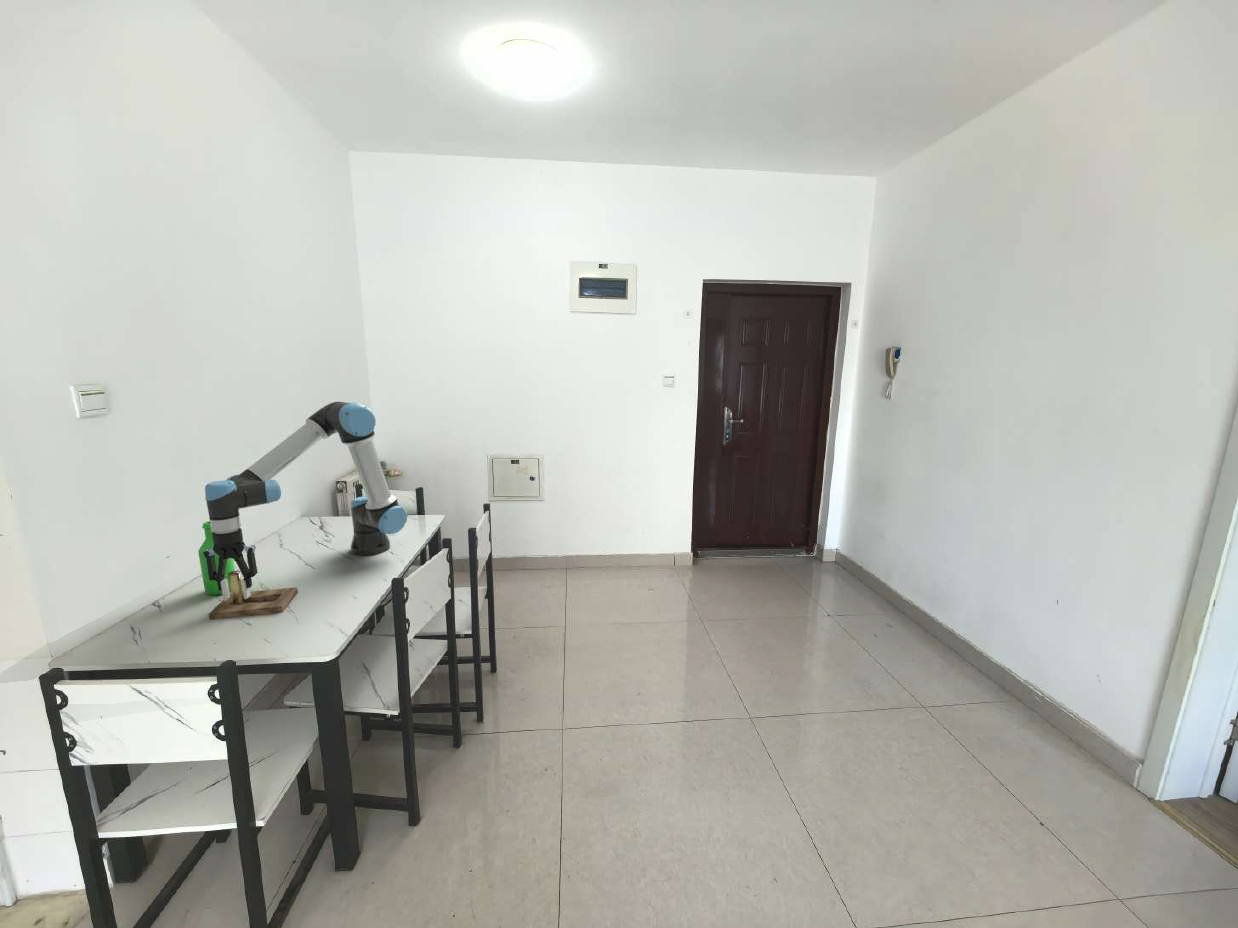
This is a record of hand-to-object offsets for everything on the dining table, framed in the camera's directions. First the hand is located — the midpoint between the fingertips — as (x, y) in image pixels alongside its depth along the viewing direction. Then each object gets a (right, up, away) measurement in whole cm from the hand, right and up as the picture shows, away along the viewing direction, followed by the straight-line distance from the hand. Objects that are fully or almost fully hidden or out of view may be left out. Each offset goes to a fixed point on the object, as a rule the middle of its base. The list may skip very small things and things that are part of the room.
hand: (237, 597), depth 163 cm
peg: (0, -3, +1) cm, 3 cm away
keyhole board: (+5, -3, +2) cm, 6 cm away
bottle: (-15, -1, +12) cm, 19 cm away
